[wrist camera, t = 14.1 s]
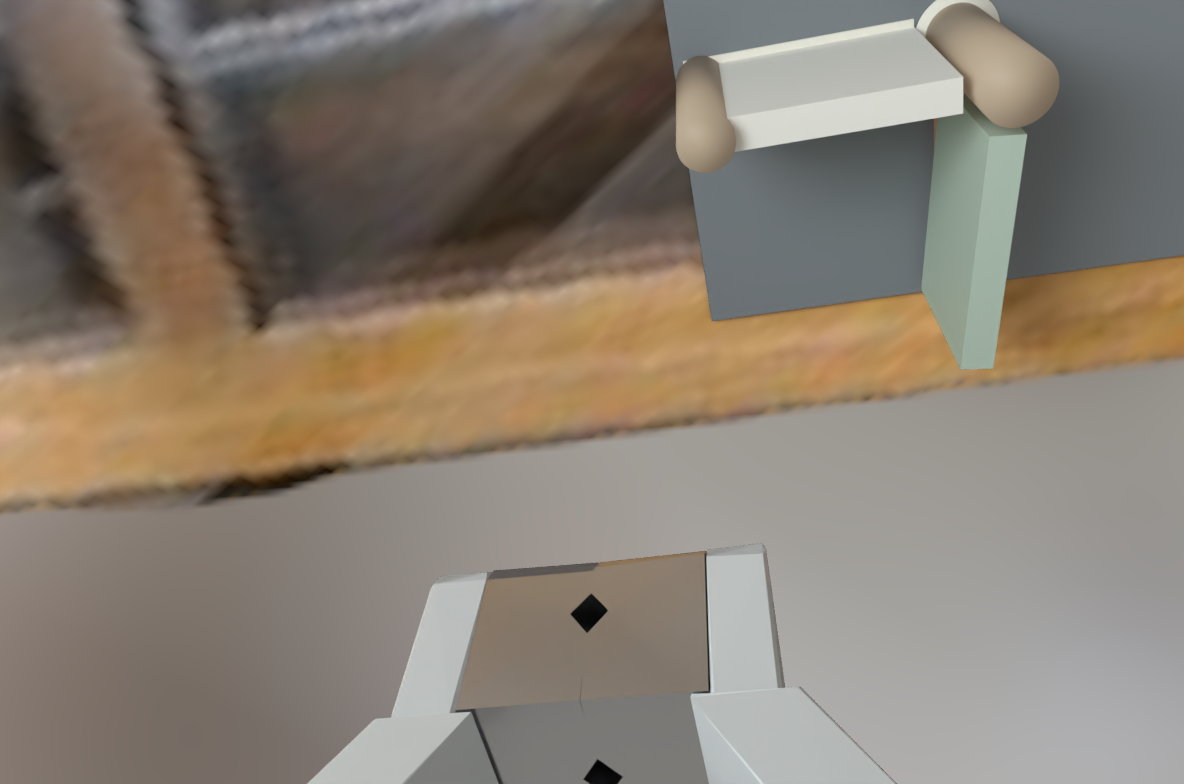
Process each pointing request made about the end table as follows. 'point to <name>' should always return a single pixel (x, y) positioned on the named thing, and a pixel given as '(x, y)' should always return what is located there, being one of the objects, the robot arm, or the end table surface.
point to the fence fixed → (860, 86)
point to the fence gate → (971, 230)
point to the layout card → (906, 151)
